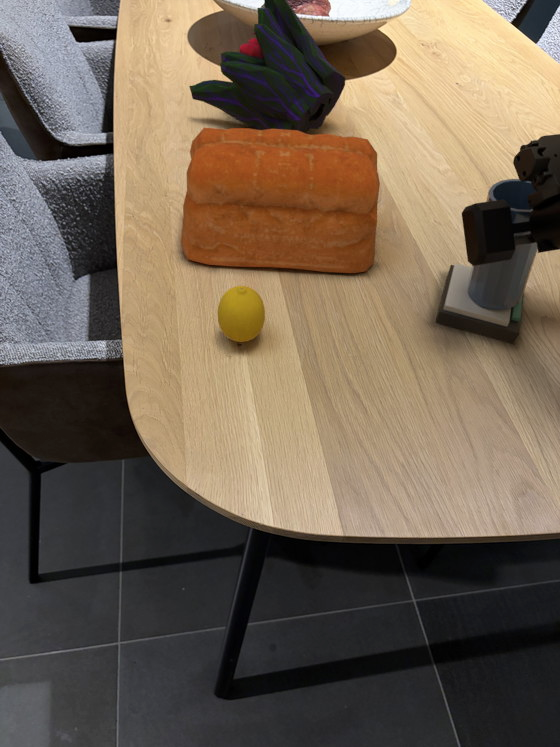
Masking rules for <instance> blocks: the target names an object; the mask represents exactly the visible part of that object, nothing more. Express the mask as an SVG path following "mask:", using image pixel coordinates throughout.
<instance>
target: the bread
mask: <svg viewBox="0 0 560 747" xmlns="http://www.w3.org/2000/svg"><path fill="white" fill-rule="evenodd" d="M189 155H190V162H189V164H188V166H187V170H186V192H185V197H184V201H183V205H182V212H183V213H182V216H183V217H182V225H181V226H182V227H181V239H180V243H181V247H182V251H183V254H184V255H185V257H186V260H188V261H192V262H197V263H201V264H204V265H212V266H224V267H225V266H226V267H248V268H251V267H254V268H257V267H258V268H278V269H291V270H305V271H313V272H315V271H316V272H324V273H344V274H355V273H357V274H358V273H364V272H367V271H368V270H369V269H370V268H372V266H373V265H374V264H375V257H376V237H377V226H378V204H379V203H378V202H379V194H380V187H381V182H380V177H379V173H378V152H377V151H376V150H375V148H374V146H373V145H372V144H371V141H370V140H369V139H368V138H363V137H357V136H341V135H338V134H337V135H336V134H333V133H332V134H331V133H317V134H309V133H307V132H306V133H303V132H301V131H298V130H285V129H266V130H259V129H257V128H248V127H247V128H245V127H244V128H243V127H231V128H214V127H203V128H202V129H201V130H200V132H198V134H197V135H196V136H195V137H194V139H192V141H191V144H190V150H189Z"/></svg>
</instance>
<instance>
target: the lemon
mask: <svg viewBox="0 0 560 747" xmlns="http://www.w3.org/2000/svg"><path fill="white" fill-rule="evenodd" d="M217 307H218V308H217V322H218V326H219V328H220V330H221V332H222V333H223V334H224V336H225V337H226V338H228V339H230V340H231V341H233V342H238V343H239V342H240V343H244V342H249V341H251V340H253V339H255V338H256V337H257V336H258V335H259V334H260V332H262V329H263V327H264V324H265V321H266V310H265V305H264V301H263V298H262V296H260V294H259V293H258V291H257V290H255V289H253V288H252V287H249V286H246V285H237V286H234V287H231V288H229V289H228V290H226V291H225V292H224V293H223V295H222V296H221V298H220V300H219V302H218V306H217Z"/></svg>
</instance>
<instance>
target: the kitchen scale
mask: <svg viewBox="0 0 560 747" xmlns="http://www.w3.org/2000/svg"><path fill="white" fill-rule="evenodd" d="M471 268H472V266H469V265H465V264H461V263H457V262H454V264H450V267H449V268H448V272H447V275H446V279H445V283H444V286H443V290H442V295H441V299H440V302H439V306H438V310H437V314H436V319H435V323H436V324H439V325H443V326H446V327H449V328H454V329H457V330H461V331H465V332H468V333H470V334H471V333H472V334H476V335H479V336H483V337H487V338H490V339H493V340H497V341H501V342H504V343H508V344H511V345H515V344H516V341H517V340H518V338H519V336H520V333H521V324H522V316H523V308H524V298H525V292H524V293H523V296H522V299H521V301H520V302H519V303H518V304H517V305H516V306H514V307H512V308H509V309H504V310H495V309H489V308H485V307H482V306H480V305H478V304H477V303H475V302H474V301H473V300H472V299H471V298H470V296H469V294H468V291H467V288H468V281H469V277H470V273H471Z"/></svg>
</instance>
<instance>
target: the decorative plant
mask: <svg viewBox="0 0 560 747" xmlns="http://www.w3.org/2000/svg"><path fill="white" fill-rule="evenodd" d="M263 1H264V7H257V23H254V25H253V31H254V32H252V35H255V37H252V38H251V39H249V40H248V41H247V43H243V44H241V45H240V46H239V47H238V48H239V51H231V50H230V51H229V50H227V51H223V52H221V53H220V59H221V60H220V63H219V65H220V72H221V74H222V75H223V76H224V77H226V78H227V79H228V80H229V81H227V80H226V81H225V80H220V79H208V80H203V81H200V82H198V83H196V84H192V85H189V86H188V87H189V91H190V94H191V98H192V100H194V101H199V102H203V103H206V104H208V105H209V106H212V107H213V108H217V109H218V110H220V111H221V112H224V113H225V114H227V115H229V116H231V118H233V119H235V120H237V121H239V122H241V123H243V124H245V125H247V126H249V127H252V128H253V129H256V130H266V129H285V130H298V131H301V132H303V133H306V134H307V132H308V131H309V130H310V129H312V130H318V129H319V128H321V127H322V126H323V124H324V122H325V119H326V118H327V117H328V116H329V114H331V112H332V111H333V109H334V108H335V106H336V104H337V103H338V101H339V100H340V98H341V95H342V93H343V90H344V89H345V86H346V76H344V75H343V74H342V73H341V72H340V71H338V70H337V69H336V68H335V67H334V66H333V65H332V64H331V63H330V62H328V60H327V58H326V57H325V56H324V54H323V52H322V50H321V49H320V48H319V45H318V44H317V43H316V41H315V39H314V38H313V36H312V35H311V33H310V32H309V31H308V29H307V28H306V26H305V25H304V23H303V22H302V20H300V19H301V18H299V16H298V15H297V13H296V12H295V10H294V9H293V7H292V6H291V5H290V3H289V2H288V1H287V0H263Z"/></svg>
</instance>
